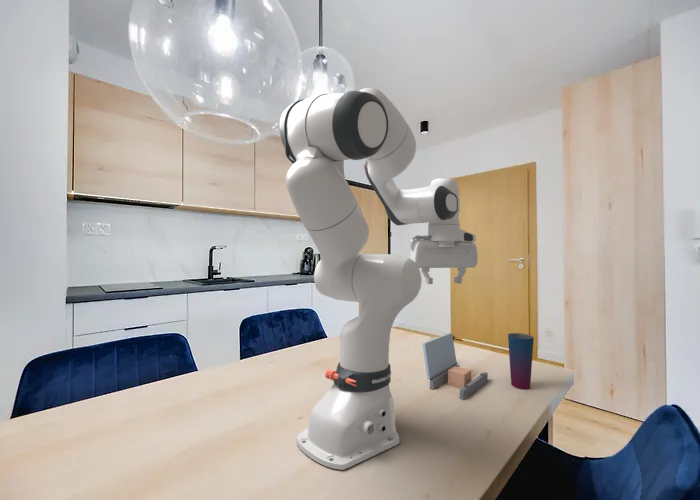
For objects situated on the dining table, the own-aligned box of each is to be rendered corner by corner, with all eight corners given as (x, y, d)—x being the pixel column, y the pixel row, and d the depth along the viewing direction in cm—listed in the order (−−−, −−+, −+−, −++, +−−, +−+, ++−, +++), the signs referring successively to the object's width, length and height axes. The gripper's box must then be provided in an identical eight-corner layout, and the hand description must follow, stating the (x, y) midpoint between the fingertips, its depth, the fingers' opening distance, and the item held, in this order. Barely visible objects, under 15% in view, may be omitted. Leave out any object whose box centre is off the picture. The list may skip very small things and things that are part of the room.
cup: (508, 379, 100) (508, 331, 100) (533, 384, 96) (533, 334, 96) (507, 387, 94) (507, 336, 94) (533, 392, 90) (533, 339, 91)
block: (464, 390, 92) (464, 374, 92) (448, 385, 95) (448, 370, 95) (471, 385, 96) (471, 370, 96) (455, 380, 99) (455, 366, 99)
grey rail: (463, 399, 85) (463, 389, 85) (429, 388, 92) (429, 379, 92) (487, 380, 99) (487, 371, 99) (456, 372, 105) (456, 363, 105)
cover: (425, 343, 93) (420, 343, 94) (430, 379, 92) (426, 379, 93) (452, 333, 107) (448, 332, 108) (457, 364, 105) (453, 364, 106)
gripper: (415, 234, 86) (415, 285, 86) (480, 235, 91) (480, 283, 91) (406, 235, 92) (406, 283, 92) (467, 236, 98) (467, 281, 97)
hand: (443, 283), depth 92 cm, fingers open, 8 cm apart
